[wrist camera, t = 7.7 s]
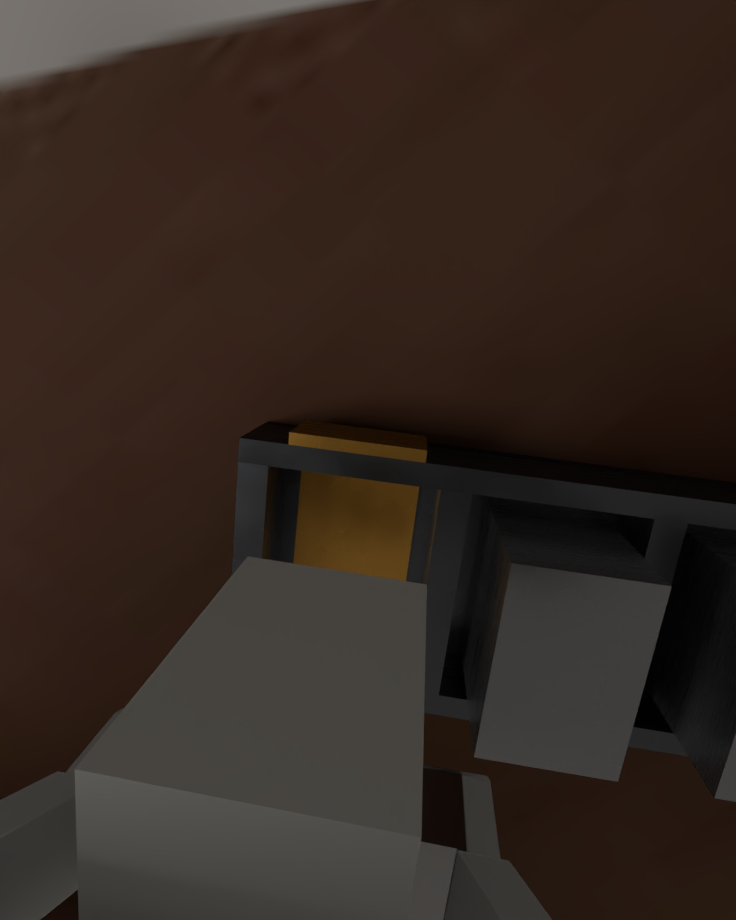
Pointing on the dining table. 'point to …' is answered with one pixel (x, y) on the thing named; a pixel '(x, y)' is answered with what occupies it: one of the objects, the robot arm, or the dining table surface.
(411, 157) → the dining table surface
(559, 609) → the rack
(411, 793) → the tall light grey cuboid
